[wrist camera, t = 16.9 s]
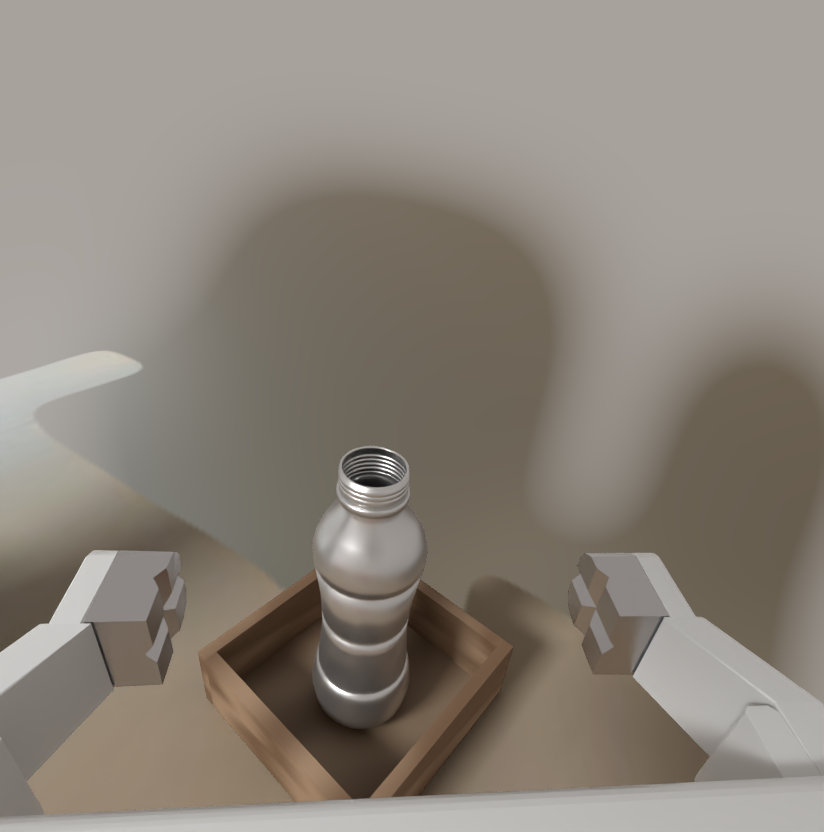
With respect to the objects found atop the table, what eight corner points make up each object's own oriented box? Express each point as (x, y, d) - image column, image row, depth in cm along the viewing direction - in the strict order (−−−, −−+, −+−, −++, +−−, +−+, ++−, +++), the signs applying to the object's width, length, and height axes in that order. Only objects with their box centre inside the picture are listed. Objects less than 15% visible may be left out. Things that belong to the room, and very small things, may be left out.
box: (206, 697, 37) (197, 652, 35) (358, 578, 47) (360, 536, 45) (357, 874, 30) (360, 834, 27) (500, 689, 40) (513, 646, 37)
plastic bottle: (369, 636, 42) (385, 417, 32) (426, 705, 38) (466, 479, 27) (294, 683, 38) (284, 452, 28) (348, 765, 34) (359, 530, 24)
